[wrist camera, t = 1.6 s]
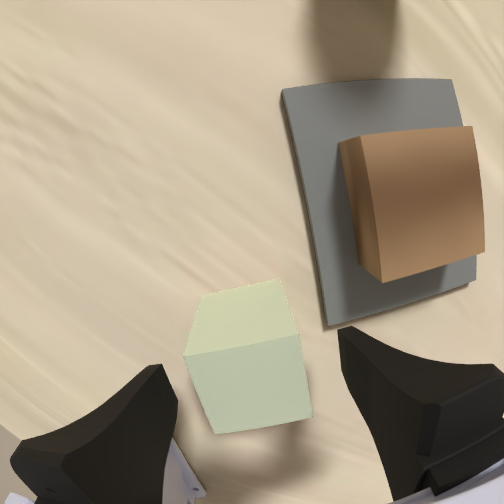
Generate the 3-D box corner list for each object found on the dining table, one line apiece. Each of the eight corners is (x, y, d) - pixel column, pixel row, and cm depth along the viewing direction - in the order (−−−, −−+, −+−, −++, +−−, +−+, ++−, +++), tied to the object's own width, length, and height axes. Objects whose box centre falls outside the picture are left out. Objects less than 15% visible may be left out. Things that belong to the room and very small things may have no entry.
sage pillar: (292, 344, 17) (313, 416, 11) (222, 358, 17) (214, 434, 11) (279, 277, 16) (298, 333, 10) (202, 294, 16) (182, 356, 10)
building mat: (470, 277, 16) (476, 280, 16) (325, 321, 17) (328, 326, 16) (445, 81, 14) (451, 79, 13) (281, 92, 14) (282, 89, 13)
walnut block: (451, 239, 15) (484, 252, 12) (358, 264, 15) (382, 283, 12) (438, 131, 14) (472, 126, 11) (337, 143, 14) (360, 135, 11)
